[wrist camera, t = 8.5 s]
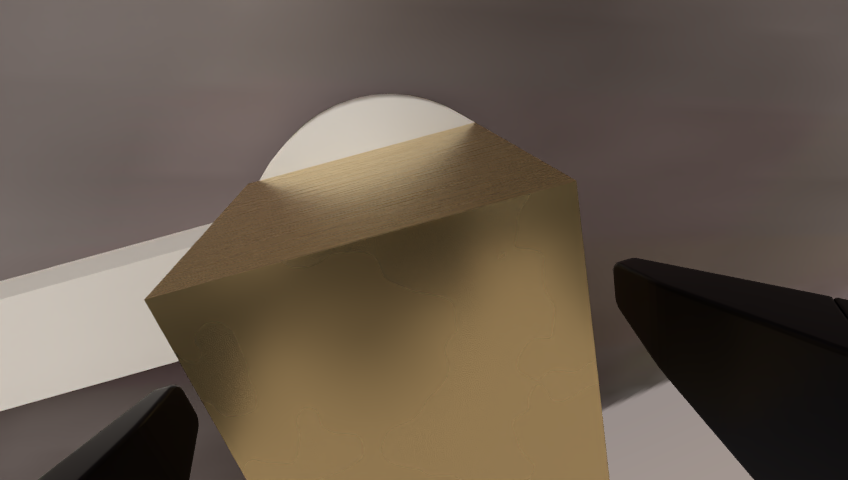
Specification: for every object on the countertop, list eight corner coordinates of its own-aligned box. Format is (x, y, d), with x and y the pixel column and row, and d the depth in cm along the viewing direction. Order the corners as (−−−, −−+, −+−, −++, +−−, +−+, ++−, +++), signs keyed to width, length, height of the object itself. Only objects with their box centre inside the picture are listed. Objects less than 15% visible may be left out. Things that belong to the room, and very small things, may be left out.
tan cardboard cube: (474, 122, 12) (576, 181, 6) (512, 314, 14) (609, 482, 8) (248, 183, 12) (143, 299, 6) (324, 367, 14) (299, 572, 8)
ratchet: (488, 61, 13) (568, 63, 8) (529, 295, 16) (605, 402, 11) (-491, 325, 12) (-1077, 509, 7) (-253, 516, 16) (-549, 737, 10)
